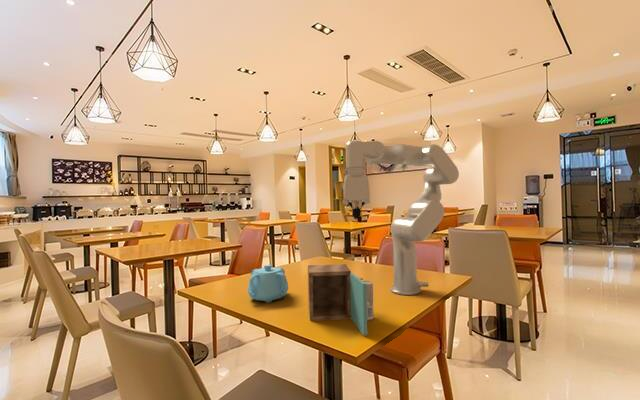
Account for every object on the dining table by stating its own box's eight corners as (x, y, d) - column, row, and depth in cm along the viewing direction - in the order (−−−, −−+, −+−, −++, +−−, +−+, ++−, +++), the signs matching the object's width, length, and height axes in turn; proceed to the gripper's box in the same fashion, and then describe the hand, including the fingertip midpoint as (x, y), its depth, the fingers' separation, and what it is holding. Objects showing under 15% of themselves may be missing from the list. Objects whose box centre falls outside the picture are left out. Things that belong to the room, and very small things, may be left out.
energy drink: (356, 315, 113) (355, 280, 113) (371, 314, 113) (370, 280, 113) (359, 321, 107) (358, 285, 107) (375, 320, 108) (374, 284, 108)
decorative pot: (251, 293, 142) (250, 261, 142) (289, 291, 143) (288, 260, 143) (245, 305, 126) (244, 270, 126) (287, 303, 127) (286, 268, 127)
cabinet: (346, 307, 122) (345, 264, 122) (351, 318, 110) (350, 271, 110) (308, 308, 121) (307, 265, 121) (309, 320, 109) (308, 272, 109)
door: (350, 318, 109) (350, 273, 109) (357, 318, 109) (356, 273, 109) (363, 335, 95) (362, 284, 95) (371, 334, 96) (370, 283, 96)
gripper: (338, 172, 126) (339, 219, 126) (376, 171, 127) (377, 218, 128) (335, 173, 134) (336, 218, 134) (372, 172, 135) (372, 217, 135)
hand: (356, 218), depth 131 cm, fingers closed
